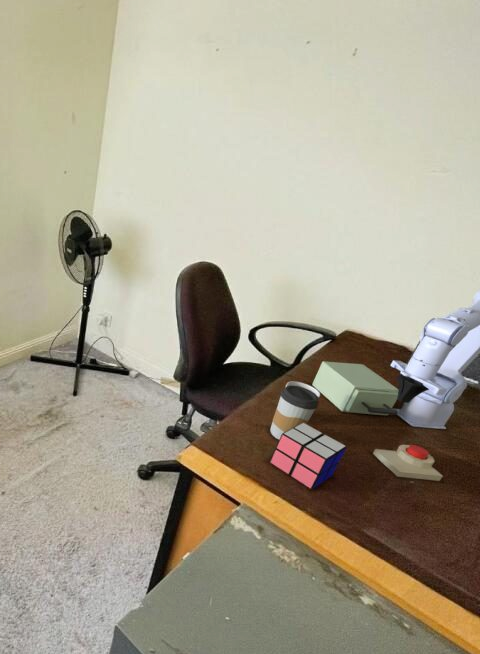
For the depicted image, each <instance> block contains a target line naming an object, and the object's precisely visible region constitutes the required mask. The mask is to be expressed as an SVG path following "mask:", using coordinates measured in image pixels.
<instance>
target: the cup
mask: <svg viewBox="0 0 480 654" xmlns="http://www.w3.org/2000/svg"><path fill="white" fill-rule="evenodd" d="M289 385H294V386H299V387H303V388H306V389H308V390H310V391H312V392H313V393H315V394H316V395H317V396H318V399H319V398H320V396H321V392H320V391H319V390H318V389H316V388H315V387H314V386H313V385H310V384H307V383H304V382H301V381H294V380H293V381H288V382H286V384H285V387H284V388H286V387H287V386H289Z"/></svg>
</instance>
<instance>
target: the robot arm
mask: <svg viewBox="0 0 480 654" xmlns="http://www.w3.org/2000/svg"><path fill="white" fill-rule="evenodd" d="M418 342H419V344H418V345H417V347H416V349H415V351H414V352H413V354H412V356H411V358H410V359H409V361H408V363H405V362H403V361H401V360H392V362H391V363H390V367H391V368H392V369H393V368H394V369H397V370H398V371H400V372H399V373H400V374H398V375H397V376H396V380H397V384H398V390H399V391H398V397H397V400H398V401H399V402H400V403H403V405H402V407H401V408H395V409H396V410H397V411H398V414H397V415H396V416H398V418H401V419H402V420H403V421H404V422H406V423H407V424H408V425H409V426H411V427H416V428H427V429H438V430H446V429H447V427H446V426H445V425H446V424H447V422H448V421H449V419H450V417H451V416H452V415H453V413H454V411H455V405H454V403H455V402H456V401H457V400H458V399H459V398H460V397H461V396H462V395H463V392H464V391H465V390H466V388H468V381H467V380H466V378H465V376H463V374H462V372H464V370H466V368H467V367H469V365H470V364H471V363H472V362H473V361H474V360H475V359H476V357H477V356H478V355H479V354H480V288H479V289H478V290H477V292H476V293H475V294H474V296H473V298H472V304H471V305H469V306H468V307H459V308H456V309H455V310H453V311H452V312H450V313H447V314H446V315H445V316H443V317H436V318H435V317H433V318H431V319H429V320H428V321H427V322H426V323H425V325H424V326H423V328H422V330H421V334H420V337H419V338H418Z"/></svg>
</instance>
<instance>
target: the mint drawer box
mask: <svg viewBox="0 0 480 654" xmlns="http://www.w3.org/2000/svg"><path fill="white" fill-rule="evenodd" d="M311 386H312V387H313V388H315V389H316V390H318V391H319V393H320V394H322V395H323V396H324V398H326V399H328V400H329V401H330V403H332V404H333V405H334V406H335V407H336V408H337V409H338V410H339V411H341V412H344V413H349V412H348V411H347V410H346V407H347V406H348V404H349V402H350V400H351V398H352V396H353V394H354V392H355V390H356V389H364V390H376V391H388V392H395V393H397V394H398V391H399V388H397V387H396V386H394V385H393V384H392V383H390V382H389V381H387V380H386V379H384V378H383V377H381V376H380V375H379V374H377V373H375V372H374V371H373V370H372V369H370V368H368V367H367V366H366V365H365V364H363V363H362V364H361V363H350V362H349V363H348V362H338V361H321V364H320V365H319V369H318V371H317V373H316V375H315V377H314V379H313V382H312V385H311ZM351 413H352V414H353V413H355V412H351ZM355 414H356V413H355ZM363 414H364V415H365V414H366V413H363ZM366 415H367V414H366ZM374 415H377V414H374ZM377 416H378V415H377Z"/></svg>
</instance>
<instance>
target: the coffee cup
mask: <svg viewBox="0 0 480 654" xmlns="http://www.w3.org/2000/svg"><path fill="white" fill-rule="evenodd" d="M285 387H286V386H285ZM285 387H284V388H283V389H282V390H281V392H280V397H279V401H278V404H277V406H276V408H275V412H274V414H273V418H272V423H271V426H270V429H269V430H270V434H271V435H272V437H274V438H275V439H277V440H279V439H280V437H281V435H282V433H284V432H286V431H288V430H290V429H292V428H293V427H295V426H297V425H299V424H301V423H304V424H306V425H308V423H309V421H310V419H311V417H312V415H313V414H314V412H315V411H316V409H317V408H318V406H319V398H318V396H317V395H316V394H315V393H313V392H312V391H310V390H308V389H306V388H303V387H299V386H294V385H289V386H287V387H286V388H285Z"/></svg>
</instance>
